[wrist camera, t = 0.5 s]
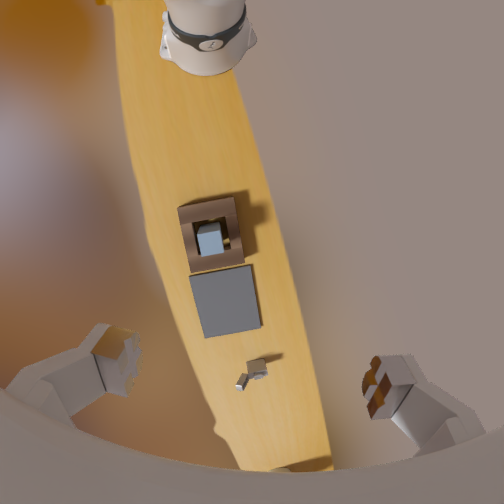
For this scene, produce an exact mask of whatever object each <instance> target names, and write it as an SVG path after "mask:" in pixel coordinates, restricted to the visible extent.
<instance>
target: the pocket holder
mask: <svg viewBox="0 0 504 504" xmlns="http://www.w3.org/2000/svg"><path fill="white" fill-rule="evenodd" d="M177 210H178V215H179V220H180V225H181V230H182V235H183V239H184V244H185V249H186V253H187V257H188V262H189V266H190V270H191V273H194V272H199V271H205V270H210V269H216V268H221V267H226V266H232V265H237V264H242V263H245V260H244V254H243V248H242V243H241V237H240V231H239V225H238V220H237V214H236V208H235V202H234V197H233V196H231V197H226V198H220V199H215V200H209V201H204V202H199V203H194V204H189V205H184V206H179V207H178V208H177ZM224 216H225V218H226V223H227V229H228V234H229V240H230V245H229V246H224V253H219V254H214V255H209V256H203V257H202V256H201V251H199V247H198V242H197V238H196V233H195V228H194V223H193V222H197V221H203V220H208V219H213V218H218V217H224Z"/></svg>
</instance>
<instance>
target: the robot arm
mask: <svg viewBox="0 0 504 504" xmlns="http://www.w3.org/2000/svg"><path fill="white" fill-rule="evenodd" d="M164 2H165V4H166V6H167V8H168V9H167V11H164V12H163V21H164V22H165V24H164V25H163V35H162V41H161V48H160V56H161V57H162V58H163V59H166V60H169V61H173V62H174V63H176V64H177V65H178V66H179V67H180V68H181V69H183V70H184V71H186V72H189V73H191V74H195V75H201V76H210V75H216V74H220V73H223V72H225V71H227V70H229V69H231V68H232V67H234V66H235V65H236V64H237V63H238V62H239V61H240V60H241V58H242V57H243V55H244V53H245V52H246V51H247V50H248V49H249V48H251V47H252V46H254V45H255V44H256V42H257V37H256V35H255V33H254V31H253V29H252V27H251V23H250V22H249V21H248V19H247V17H246V5H245V0H164ZM166 47H167V49H165V48H166ZM139 342H140V338H139V334H138V333H137V332H136V331H132V330H128V329H124V328H119V327H116V326H111V325H107V324H104V323H98V324H97V325H96V326H95V327H94V328H93V330H92V331H91V332H90V333H89V334H88V336H87V337H86V338H85V339H84V341H83V342H82V343H81V344H80V346H79V347H78V348H77V349H76V348H72V349H70V350H67V351H65V352H62V353H60V354H57V355H55V356H52V357H50V358H47V359H45V360H42V361H40V362H37V363H35V364H32V365H30V366H27V367H25V368H22V370H21V371H20V372H19V373H18V374H17V376H16V377H15V378H14V379H13V381H12V382H11V383H10V384H9V386H8V387H7V388H6V389H5V390H3V389H2V388H0V504H504V425H503V426H501V427H499V428H496V429H495V430H492V431H490V432H488V433H486V431H485V430H484V427H483V426H482V424H481V422H480V420H479V418H478V417H477V414H476V413H475V411H474V410H473V409H471V408H470V407H468V406H467V405H465V404H464V403H462V402H460V401H459V400H458V399H456V398H455V397H453V396H451V395H450V394H448V393H447V392H445V391H444V390H442V389H441V388H439V387H438V386H436V385H435V384H433V383H432V382H430V383H428V381H427V379H426V377H425V376H424V374H423V372H422V370H421V368H420V367H419V365H418V363H417V361H416V360H415V358H414V356H412V355H411V354H400V355H378V356H374V357H373V359H372V360H371V363H370V365H371V369H370V370H369V371H367V372H366V373H365V375H364V378H363V381H362V392H363V396H364V397H365V398H366V399H367V400H368V401H369V402H368V404H367V408H368V412H369V415H370V418H371V420H375V419H386V418H391V419H392V420H393V422H394V423H396V425H397V426H399V428H400V429H401V430H402V431H403V432H404V433H405V434H406V435H407V436H408V437H409V438H410V439H411V440H412V441H413V442H414V443H415V444H416V445H417V446H418V447H420V450H419V451H418V452H417V453H416V454H415V455H414V456H413V458H409V459H405V460H401V461H396V462H391V463H386V464H380V465H375V466H368V467H361V468H354V469H345V470H334V471H319V472H259V471H245V470H234V469H225V468H216V467H210V466H203V465H197V464H191V463H186V462H181V461H176V460H172V459H167V458H163V457H159V456H155V455H150V454H147V453H143V452H140V451H136V450H133V449H130V448H126V447H123V446H120V445H117V444H114V443H111V442H108V441H106V440H103V439H100V438H98V437H95V436H93V435H90V434H87V433H85V432H82V431H80V430H78V429H77V428H76V426H75V425H74V423H73V421H72V420H71V418H70V416H72V415H74V414H75V413H77V412H78V411H80V410H81V409H83V408H84V407H86V406H87V405H88V404H90V403H92V402H93V401H95V400H96V399H98V398H99V397H101V396H102V395H104V394H105V393H106V392H109V393H113V394H116V395H120V396H123V397H128V396H129V393H130V392H131V390H132V387H133V385H134V382H133V378H135V377H136V376H138V375H139V373H140V371H141V367H142V363H143V355H142V350H141V349H140V348H139V347H138V344H139Z"/></svg>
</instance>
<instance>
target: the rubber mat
mask: <svg viewBox="0 0 504 504" xmlns="http://www.w3.org/2000/svg"><path fill="white" fill-rule="evenodd" d="M189 280H190V284H191V288H192V292H193V296H194V299H195V303H196V307H197V311H198V315H199V318H200V322H201V326H202V329H203V333H204V336H205V338H209V337H215V336H221V335H227V334H232V333H238V332H243V331H248V330H253V329H259V328H261V325H260V319H259V314H258V308H257V302H256V296H255V290H254V284H253V279H252V273H251V267H250V265H246V266H241V267H236V268H230V269H225V270H220V271H214V272H209V273H203V274H198V275H192V276H189Z"/></svg>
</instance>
